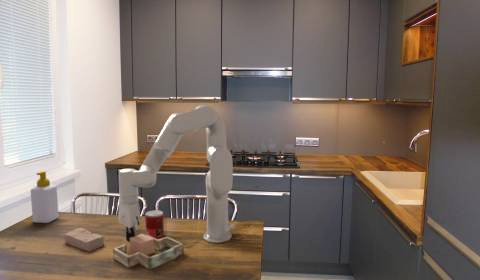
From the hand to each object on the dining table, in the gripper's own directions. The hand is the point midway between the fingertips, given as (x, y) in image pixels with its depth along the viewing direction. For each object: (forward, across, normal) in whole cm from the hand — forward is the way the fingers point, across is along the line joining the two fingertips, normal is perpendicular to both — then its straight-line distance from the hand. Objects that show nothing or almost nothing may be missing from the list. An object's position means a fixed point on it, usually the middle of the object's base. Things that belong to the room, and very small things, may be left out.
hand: (130, 240), depth 151 cm
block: (+3, +8, 0) cm, 9 cm away
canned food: (+3, -1, +13) cm, 13 cm away
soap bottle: (+3, -59, -12) cm, 60 cm away
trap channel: (+3, +13, 0) cm, 14 cm away
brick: (+3, -17, -12) cm, 21 cm away
